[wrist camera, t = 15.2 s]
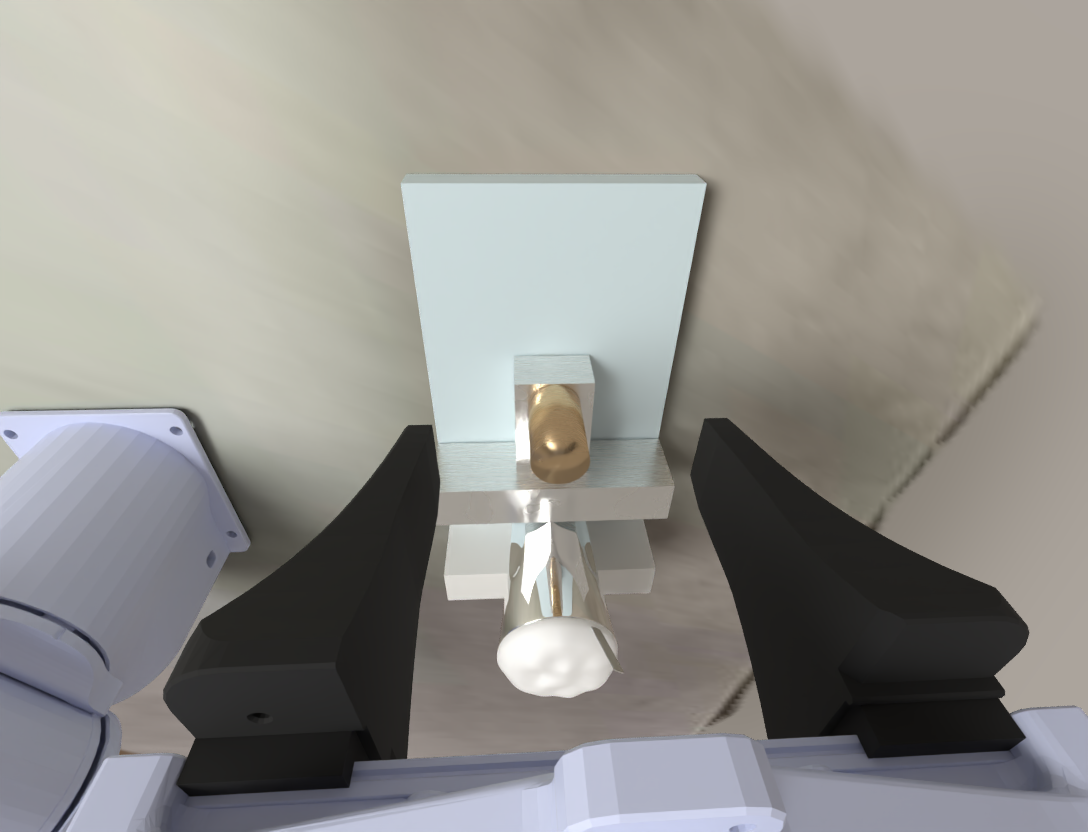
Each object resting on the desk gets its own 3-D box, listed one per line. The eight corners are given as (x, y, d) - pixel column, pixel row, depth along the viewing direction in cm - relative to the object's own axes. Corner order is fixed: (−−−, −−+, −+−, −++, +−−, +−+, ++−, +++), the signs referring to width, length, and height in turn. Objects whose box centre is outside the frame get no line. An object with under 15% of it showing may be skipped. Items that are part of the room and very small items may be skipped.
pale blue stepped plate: (633, 531, 30) (648, 598, 27) (456, 537, 30) (449, 605, 26) (696, 174, 18) (738, 212, 15) (406, 173, 18) (382, 213, 15)
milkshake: (621, 480, 26) (670, 689, 18) (555, 539, 28) (572, 746, 20) (547, 440, 24) (564, 653, 16) (483, 507, 27) (471, 720, 19)
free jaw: (652, 470, 25) (680, 560, 21) (442, 475, 25) (429, 568, 21) (674, 353, 21) (713, 436, 17) (425, 357, 21) (404, 443, 17)
